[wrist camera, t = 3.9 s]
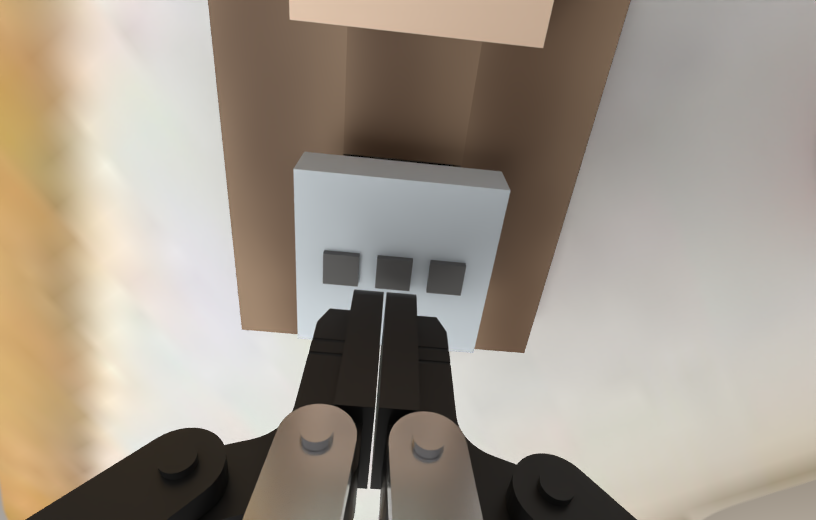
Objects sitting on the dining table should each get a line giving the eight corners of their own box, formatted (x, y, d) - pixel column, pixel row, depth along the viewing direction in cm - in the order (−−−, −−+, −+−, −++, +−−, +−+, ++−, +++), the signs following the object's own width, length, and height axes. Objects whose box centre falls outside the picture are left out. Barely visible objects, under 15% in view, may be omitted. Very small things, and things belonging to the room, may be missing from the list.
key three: (488, 144, 16) (511, 193, 12) (462, 283, 18) (473, 357, 15) (320, 126, 15) (291, 171, 12) (319, 270, 18) (296, 342, 15)
